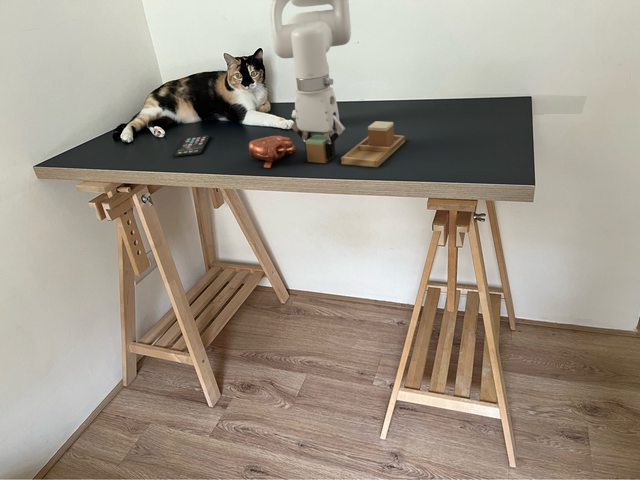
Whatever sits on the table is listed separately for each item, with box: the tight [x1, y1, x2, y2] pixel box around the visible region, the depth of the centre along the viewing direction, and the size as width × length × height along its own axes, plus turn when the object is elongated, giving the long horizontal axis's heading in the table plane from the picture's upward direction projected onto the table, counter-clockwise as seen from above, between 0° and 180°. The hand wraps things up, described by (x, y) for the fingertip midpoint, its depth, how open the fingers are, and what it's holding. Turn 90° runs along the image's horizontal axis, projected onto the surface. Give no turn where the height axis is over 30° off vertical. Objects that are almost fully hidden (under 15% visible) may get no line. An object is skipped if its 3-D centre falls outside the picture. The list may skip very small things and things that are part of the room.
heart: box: [248, 135, 298, 169], centre depth 127 cm, size 6×12×15 cm
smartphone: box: [174, 134, 210, 157], centre depth 145 cm, size 7×1×15 cm
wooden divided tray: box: [340, 134, 406, 168], centre depth 125 cm, size 10×18×2 cm, turn 150°
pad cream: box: [367, 120, 395, 147], centre depth 127 cm, size 5×5×6 cm
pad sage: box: [304, 134, 335, 164], centre depth 124 cm, size 5×5×6 cm
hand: (320, 155), depth 125 cm, fingers closed on pad sage, 5 cm apart
